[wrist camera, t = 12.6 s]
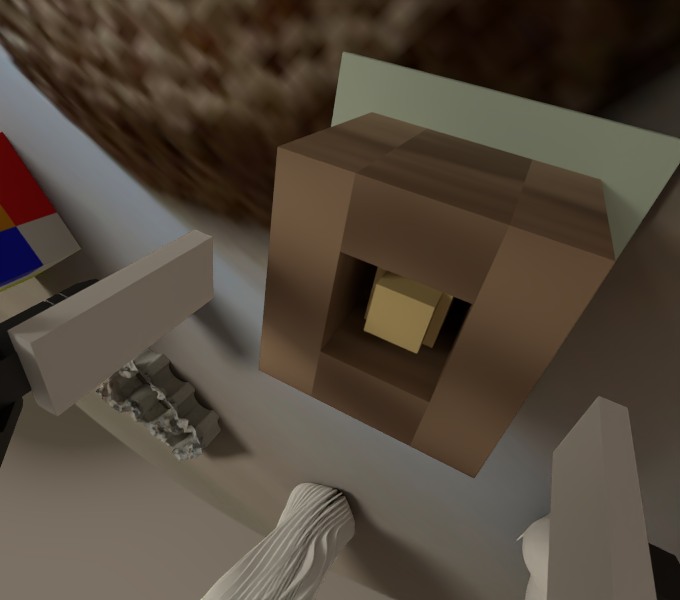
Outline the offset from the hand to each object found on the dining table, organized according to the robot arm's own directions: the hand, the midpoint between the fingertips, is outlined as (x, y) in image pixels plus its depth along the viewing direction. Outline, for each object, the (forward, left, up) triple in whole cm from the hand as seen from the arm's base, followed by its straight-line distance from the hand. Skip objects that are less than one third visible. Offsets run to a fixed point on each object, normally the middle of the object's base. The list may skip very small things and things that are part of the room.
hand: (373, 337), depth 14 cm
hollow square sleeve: (0, 0, -9) cm, 9 cm away
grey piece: (+24, -18, -10) cm, 32 cm away
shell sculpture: (+27, -2, -10) cm, 29 cm away
